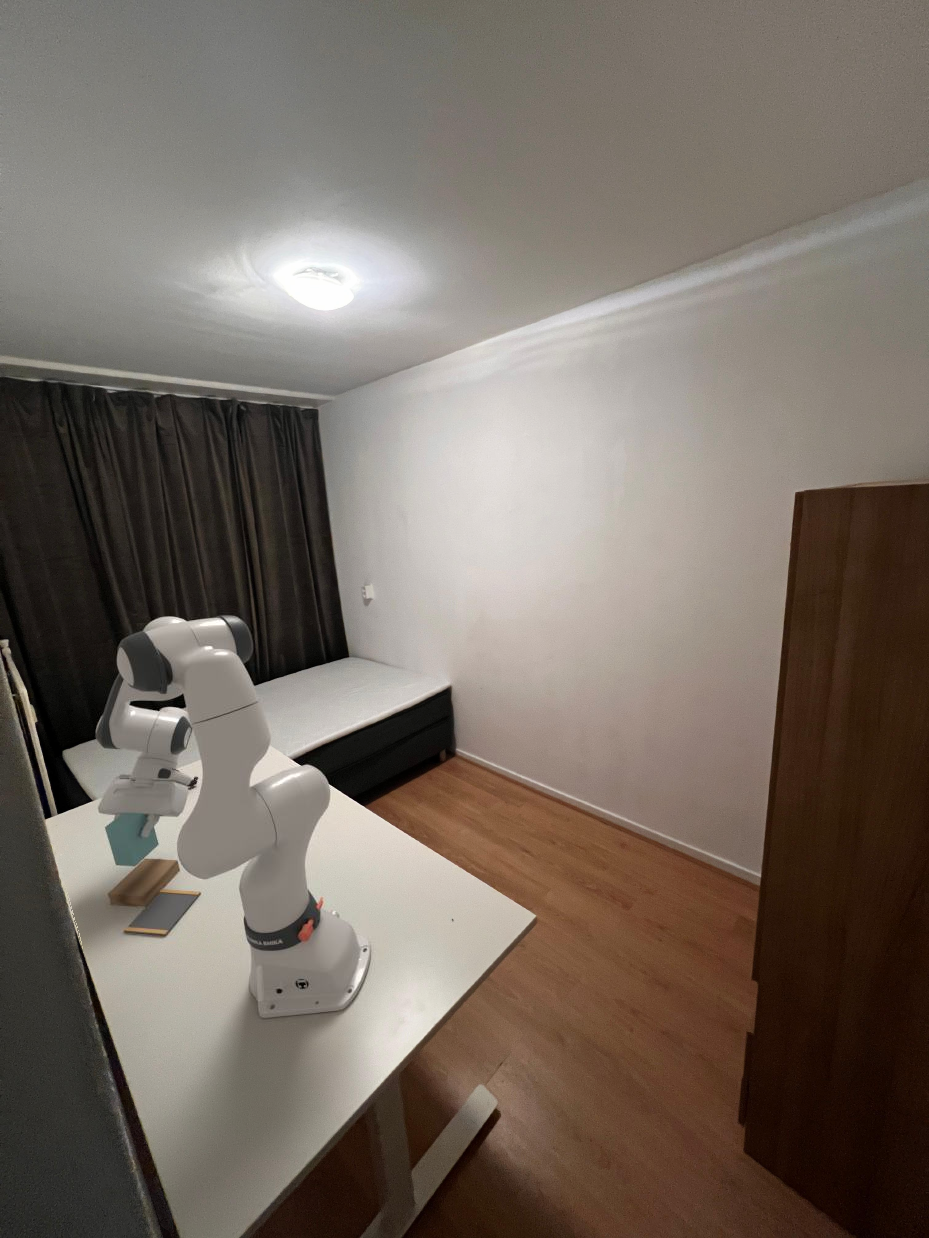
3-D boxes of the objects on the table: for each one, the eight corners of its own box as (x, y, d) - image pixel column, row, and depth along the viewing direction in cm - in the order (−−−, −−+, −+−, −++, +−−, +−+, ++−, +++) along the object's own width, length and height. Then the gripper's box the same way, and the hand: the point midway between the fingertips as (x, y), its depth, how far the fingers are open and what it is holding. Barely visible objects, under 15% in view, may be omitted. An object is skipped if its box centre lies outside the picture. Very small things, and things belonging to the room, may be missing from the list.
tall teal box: (158, 844, 115) (149, 808, 113) (135, 866, 108) (124, 827, 106) (140, 843, 116) (130, 807, 113) (116, 865, 109) (104, 827, 107)
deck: (180, 870, 119) (177, 860, 118) (145, 907, 109) (142, 896, 108) (147, 868, 121) (145, 858, 120) (110, 904, 110) (107, 893, 109)
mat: (200, 894, 111) (200, 891, 111) (166, 936, 101) (165, 933, 101) (162, 891, 113) (161, 888, 113) (124, 932, 102) (123, 930, 102)
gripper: (105, 771, 116) (79, 833, 109) (181, 772, 113) (159, 836, 106) (125, 777, 121) (101, 836, 114) (198, 778, 118) (178, 839, 111)
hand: (130, 836), depth 110 cm, fingers closed on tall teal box, 5 cm apart
